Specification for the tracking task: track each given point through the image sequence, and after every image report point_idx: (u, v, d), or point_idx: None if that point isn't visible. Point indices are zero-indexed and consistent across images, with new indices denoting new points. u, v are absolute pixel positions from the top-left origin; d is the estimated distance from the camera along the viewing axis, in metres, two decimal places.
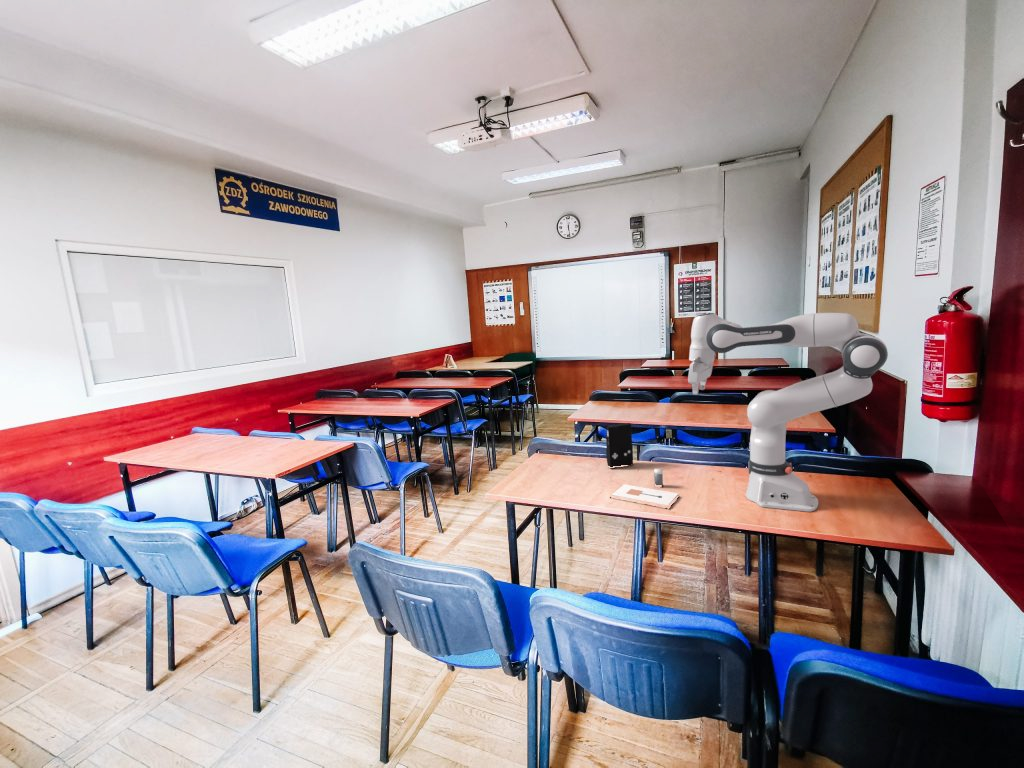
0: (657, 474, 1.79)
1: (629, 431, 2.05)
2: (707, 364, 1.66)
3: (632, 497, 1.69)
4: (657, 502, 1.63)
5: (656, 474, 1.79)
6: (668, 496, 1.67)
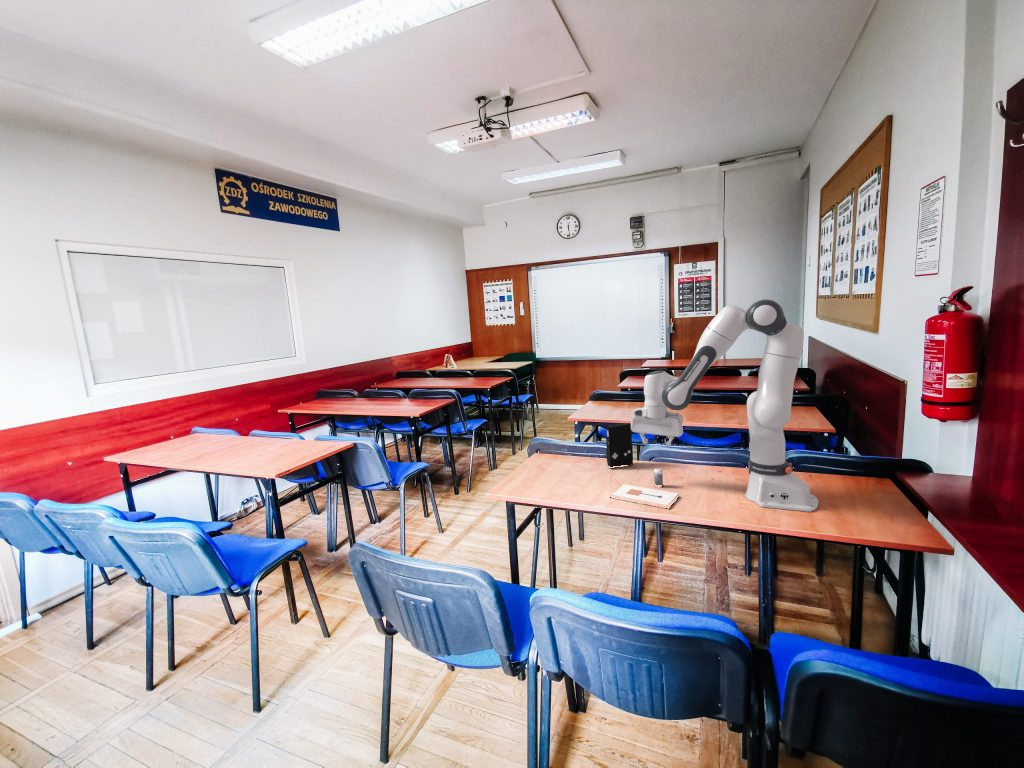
0: (657, 474, 1.79)
1: (629, 431, 2.05)
2: None
3: (632, 497, 1.69)
4: (657, 502, 1.63)
5: (656, 474, 1.79)
6: (668, 496, 1.67)
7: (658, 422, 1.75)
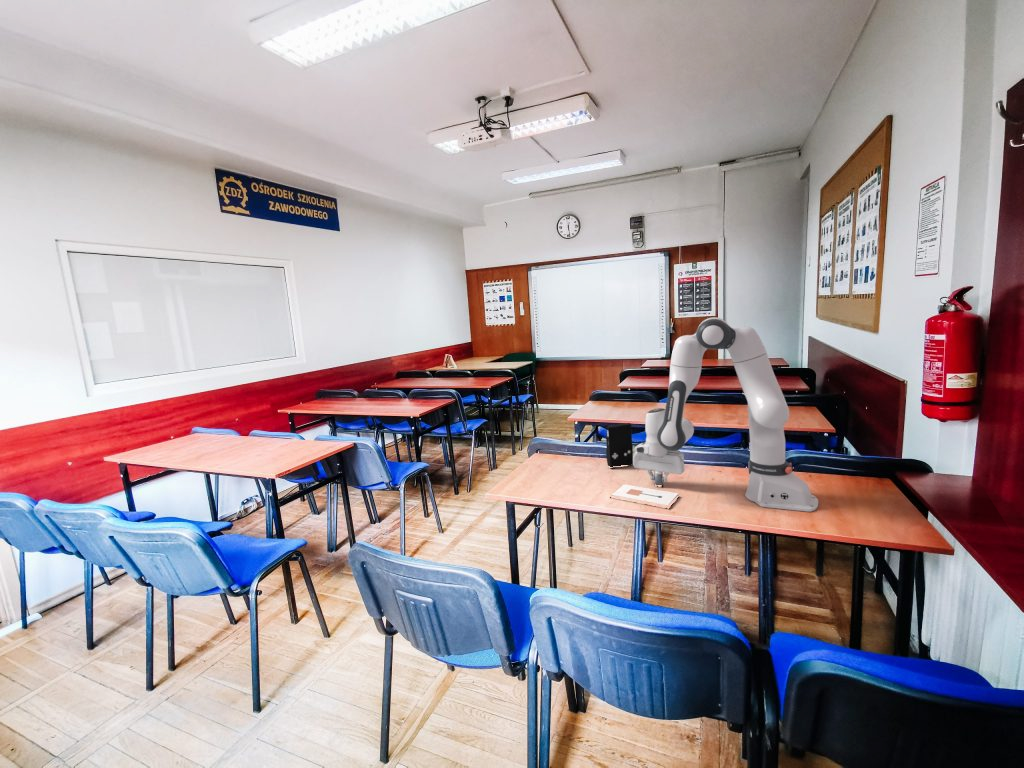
0: (657, 474, 1.79)
1: (629, 431, 2.05)
2: None
3: (632, 497, 1.69)
4: (657, 502, 1.63)
5: (656, 474, 1.79)
6: (668, 496, 1.67)
7: (660, 459, 1.77)
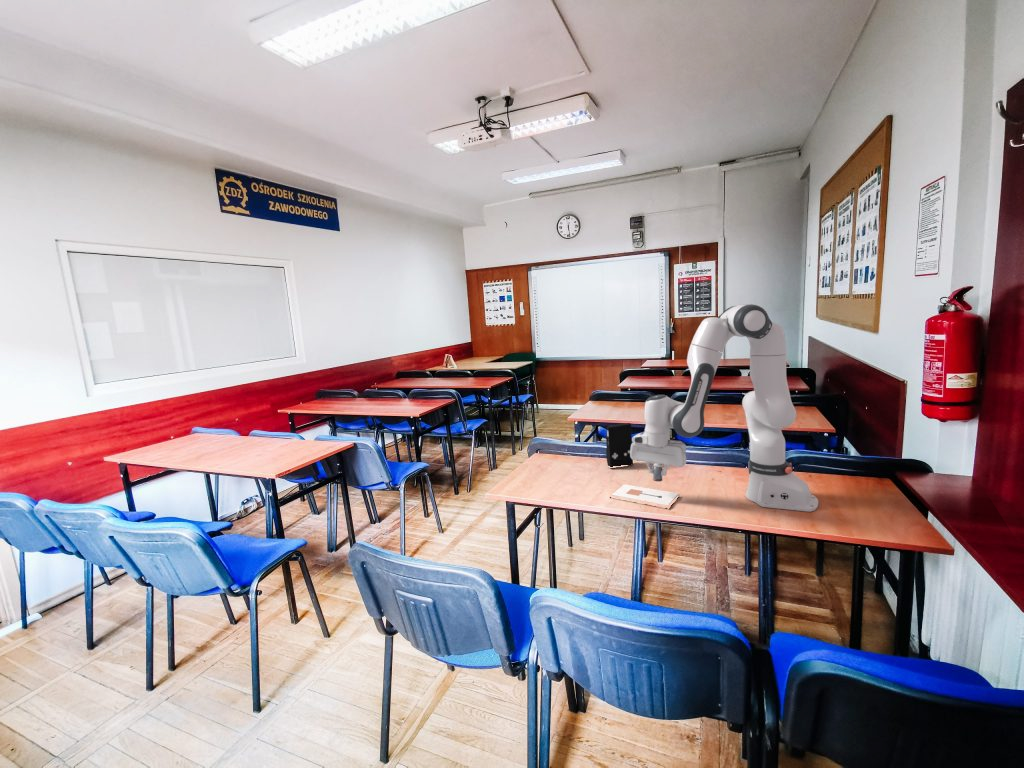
0: (656, 466, 1.64)
1: (629, 431, 2.05)
2: None
3: (632, 497, 1.69)
4: (657, 502, 1.63)
5: (655, 466, 1.65)
6: (668, 496, 1.67)
7: (659, 450, 1.63)
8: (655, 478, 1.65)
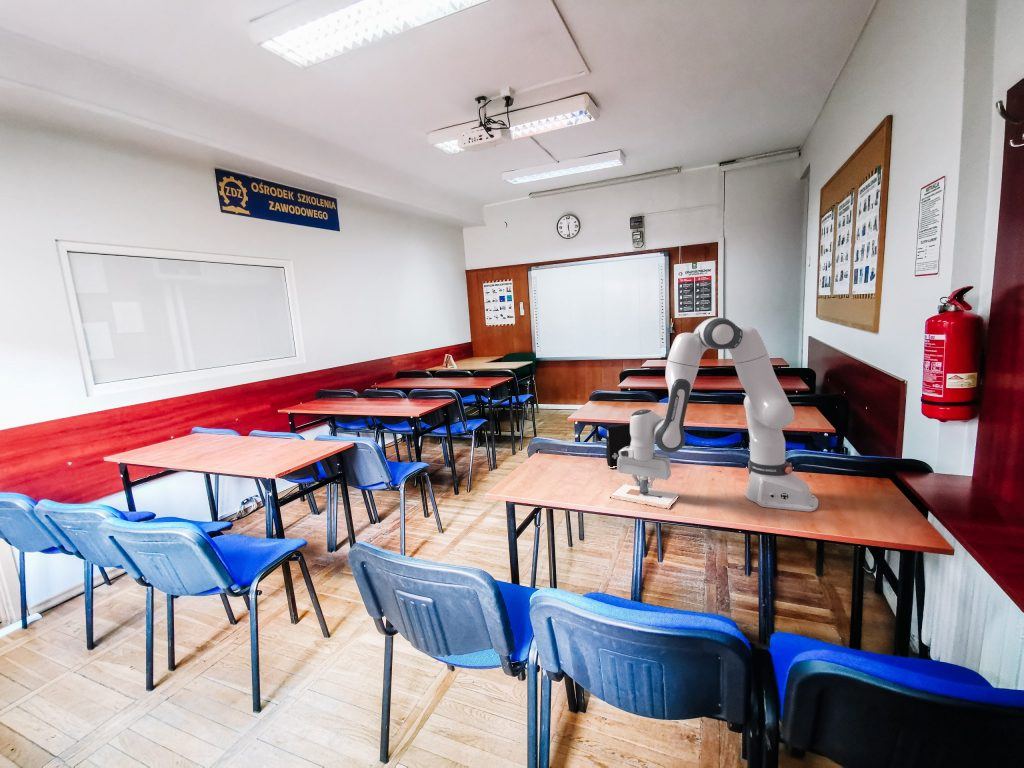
0: (642, 479, 1.69)
1: (629, 431, 2.05)
2: None
3: (632, 497, 1.69)
4: (657, 502, 1.63)
5: (641, 479, 1.69)
6: (668, 496, 1.67)
7: (645, 464, 1.67)
8: (641, 491, 1.70)
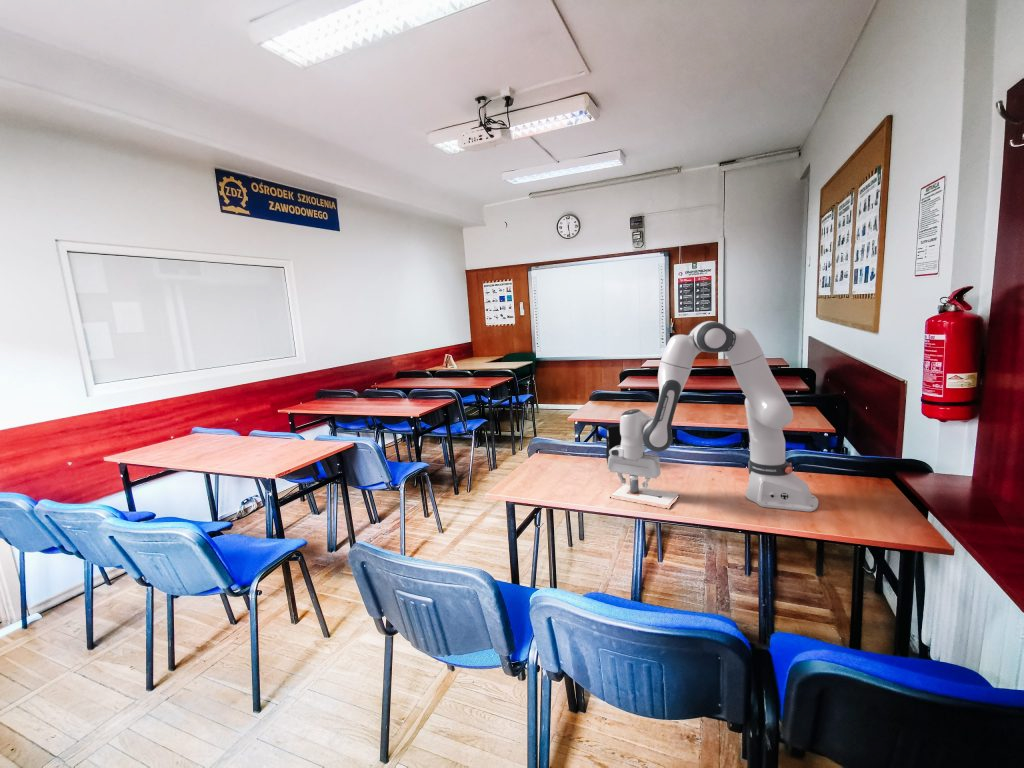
0: (632, 479, 1.71)
1: None
2: None
3: (632, 497, 1.69)
4: (657, 502, 1.63)
5: (631, 479, 1.72)
6: (668, 496, 1.67)
7: (635, 462, 1.70)
8: (632, 491, 1.72)
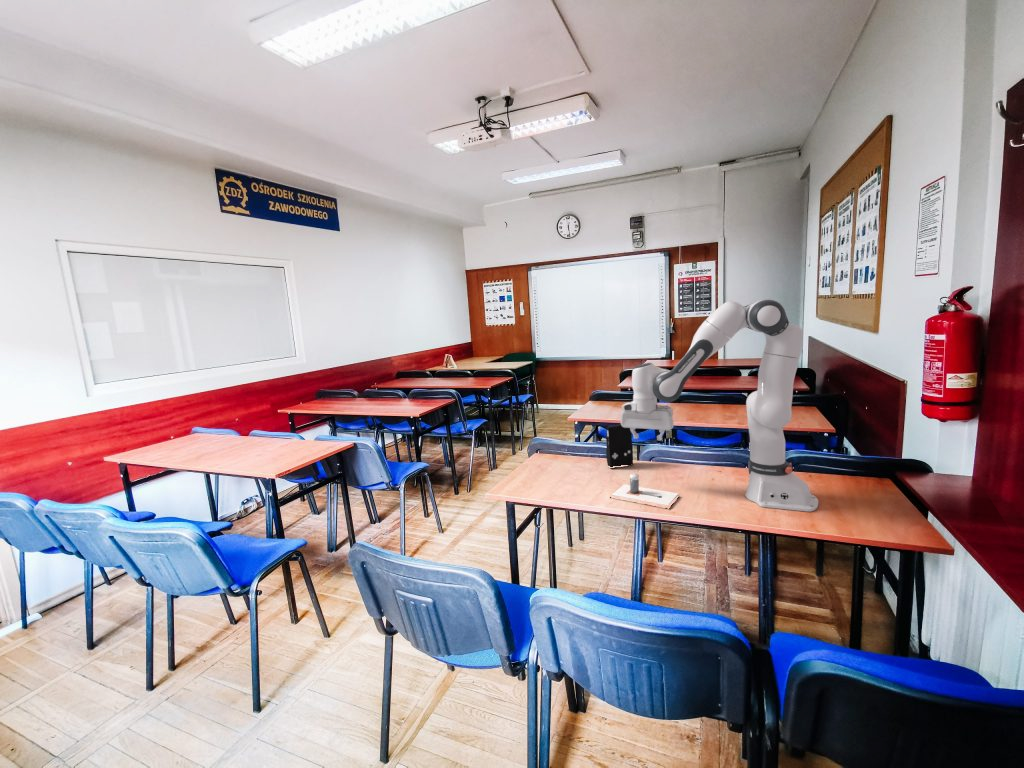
0: (633, 479, 1.71)
1: (629, 431, 2.05)
2: None
3: (632, 497, 1.69)
4: (657, 502, 1.63)
5: (632, 479, 1.72)
6: (668, 496, 1.67)
7: (648, 416, 1.71)
8: (632, 490, 1.72)
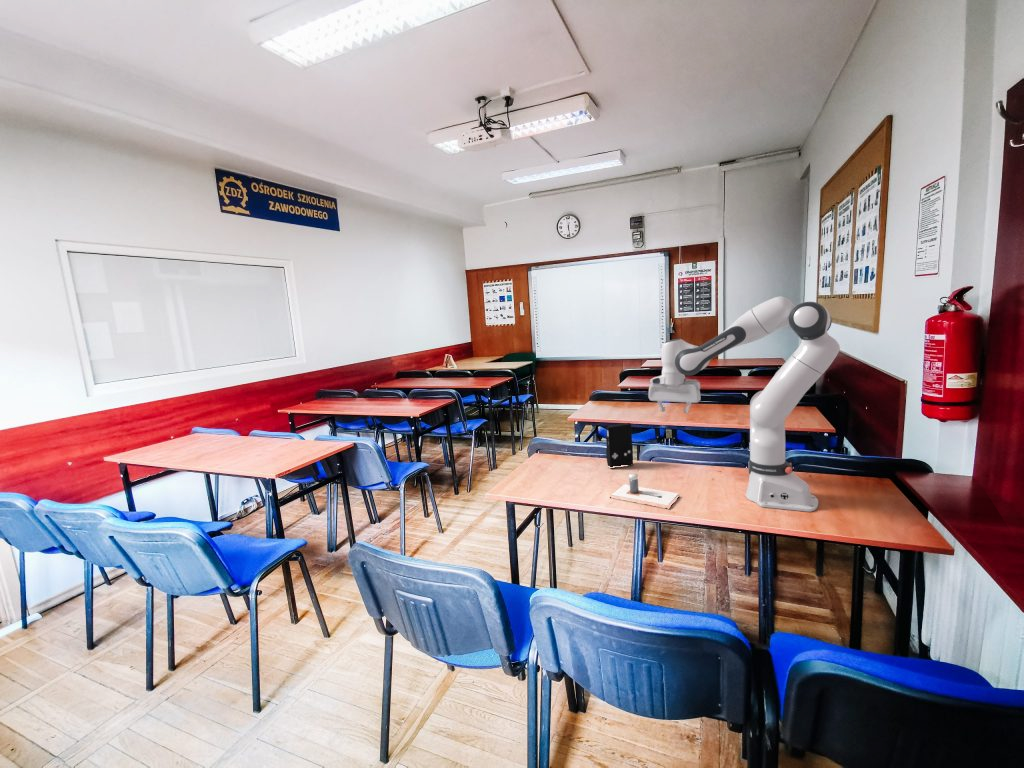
0: (631, 479, 1.72)
1: (629, 431, 2.05)
2: None
3: (632, 497, 1.69)
4: (657, 502, 1.63)
5: (630, 479, 1.72)
6: (668, 496, 1.67)
7: (676, 389, 1.78)
8: (631, 490, 1.73)
